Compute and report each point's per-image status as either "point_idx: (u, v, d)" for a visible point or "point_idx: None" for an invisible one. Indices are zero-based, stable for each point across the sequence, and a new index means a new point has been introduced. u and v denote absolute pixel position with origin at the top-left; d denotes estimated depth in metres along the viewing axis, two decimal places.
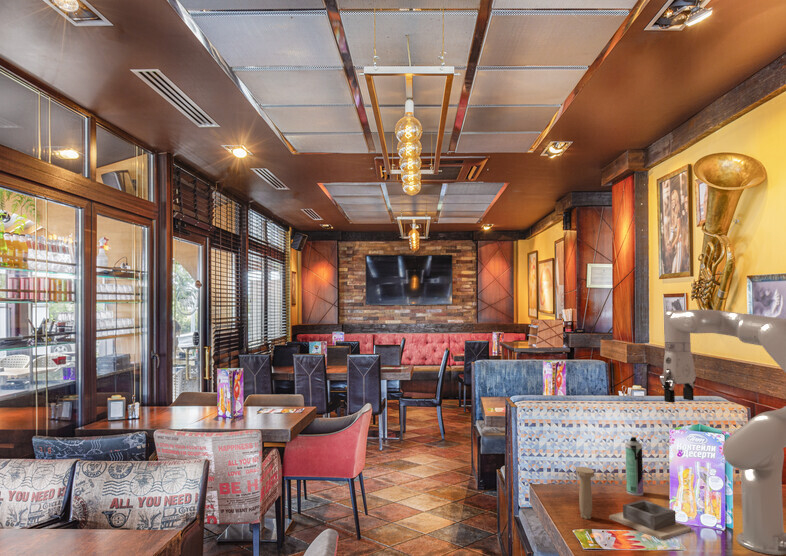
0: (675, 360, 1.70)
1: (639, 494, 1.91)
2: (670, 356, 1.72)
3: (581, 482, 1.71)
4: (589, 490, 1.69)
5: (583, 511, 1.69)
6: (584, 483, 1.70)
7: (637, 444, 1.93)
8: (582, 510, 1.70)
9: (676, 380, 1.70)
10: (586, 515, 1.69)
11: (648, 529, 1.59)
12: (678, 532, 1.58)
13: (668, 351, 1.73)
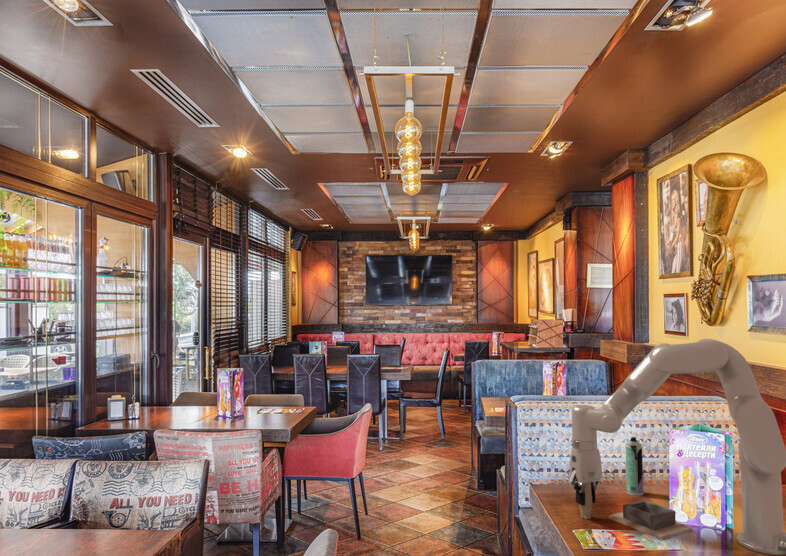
0: (580, 459, 1.68)
1: (639, 494, 1.91)
2: (575, 455, 1.69)
3: None
4: (589, 490, 1.69)
5: (583, 511, 1.69)
6: None
7: (637, 444, 1.93)
8: (582, 510, 1.70)
9: (580, 480, 1.67)
10: (586, 515, 1.69)
11: (648, 529, 1.59)
12: (678, 532, 1.58)
13: (574, 448, 1.71)
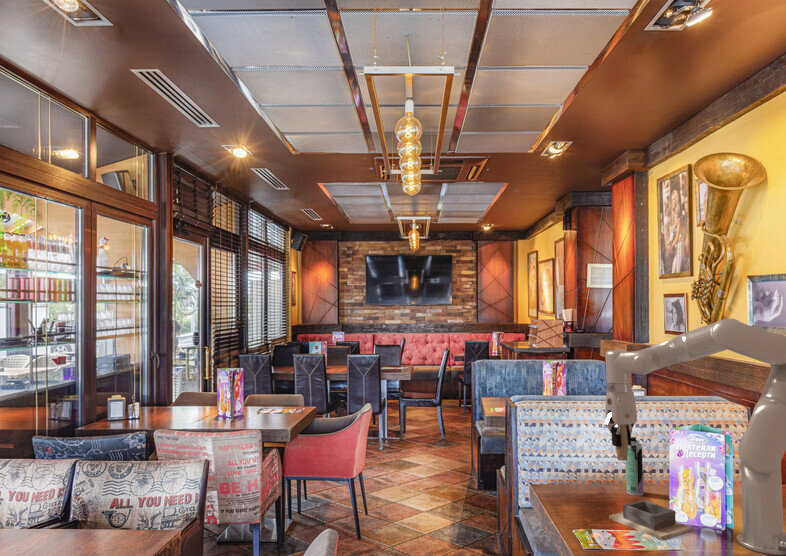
0: (615, 401, 1.70)
1: (639, 494, 1.91)
2: (611, 397, 1.72)
3: None
4: (625, 432, 1.72)
5: (619, 453, 1.72)
6: (620, 425, 1.72)
7: (637, 444, 1.93)
8: (618, 452, 1.72)
9: (616, 421, 1.70)
10: (622, 457, 1.72)
11: (648, 529, 1.59)
12: (678, 532, 1.58)
13: (609, 392, 1.73)
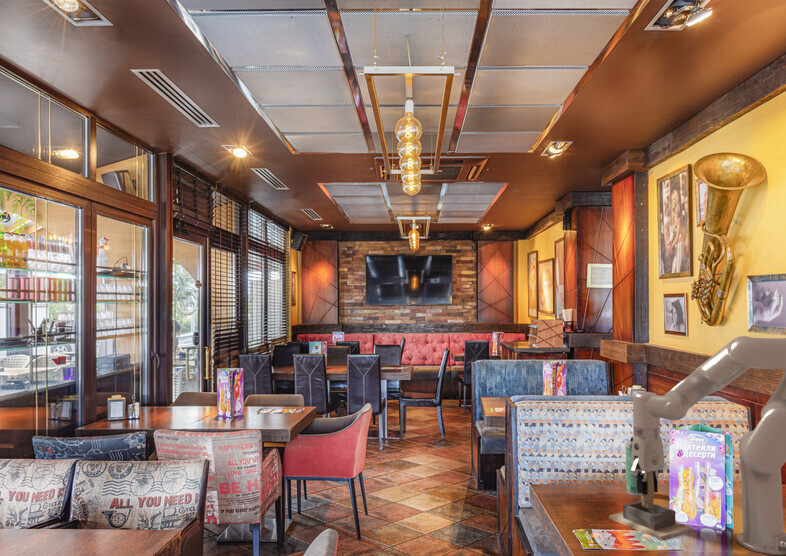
0: (643, 447, 1.63)
1: (639, 494, 1.91)
2: (638, 442, 1.64)
3: None
4: (651, 479, 1.65)
5: (645, 500, 1.65)
6: None
7: None
8: (644, 500, 1.65)
9: (644, 469, 1.62)
10: (648, 504, 1.64)
11: (648, 529, 1.59)
12: (678, 532, 1.58)
13: (636, 436, 1.66)
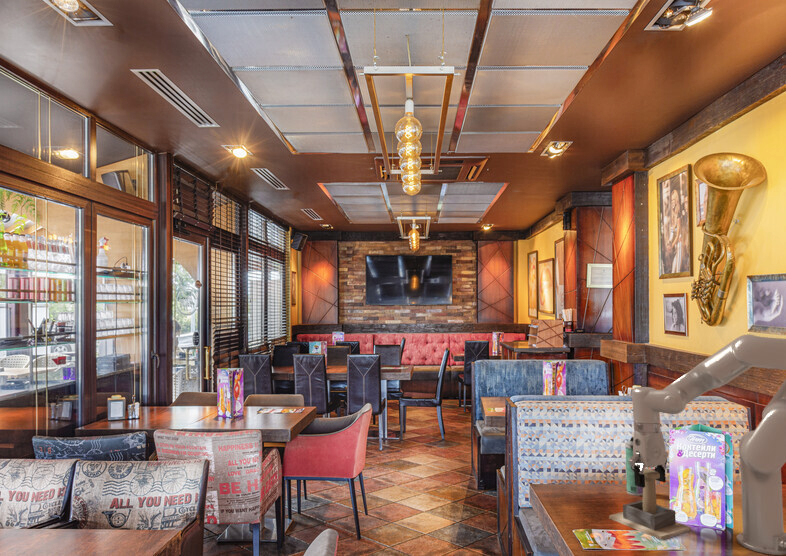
0: (644, 442, 1.63)
1: (639, 494, 1.91)
2: (639, 438, 1.64)
3: (645, 484, 1.65)
4: (654, 493, 1.64)
5: None
6: (649, 485, 1.64)
7: None
8: None
9: (646, 464, 1.62)
10: None
11: (648, 529, 1.59)
12: (678, 532, 1.58)
13: (637, 432, 1.66)
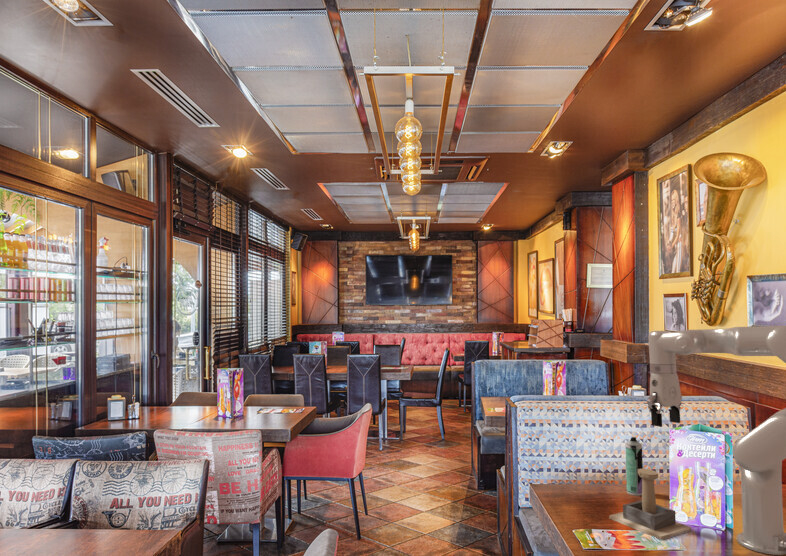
0: (661, 382, 1.66)
1: (639, 494, 1.91)
2: (656, 378, 1.68)
3: (644, 484, 1.65)
4: (653, 492, 1.64)
5: None
6: (648, 485, 1.64)
7: (637, 444, 1.93)
8: None
9: (663, 403, 1.65)
10: None
11: (648, 529, 1.59)
12: (678, 532, 1.58)
13: (654, 373, 1.69)
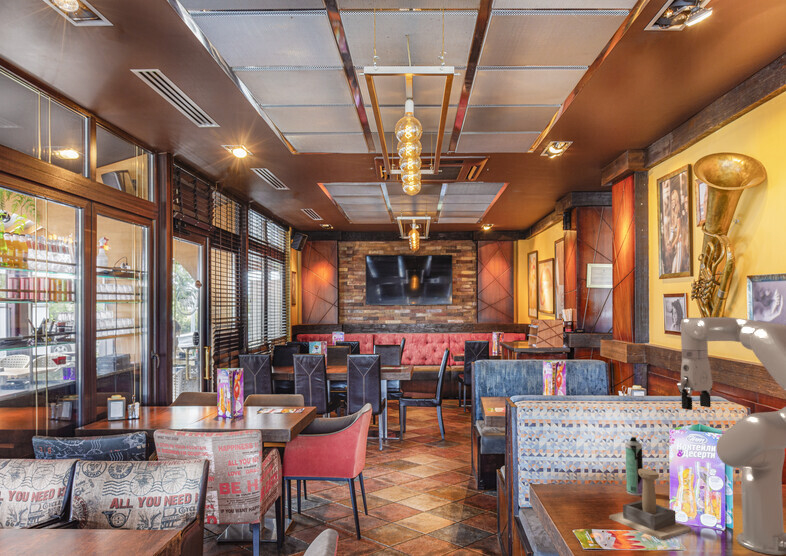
0: (693, 367, 1.71)
1: (639, 494, 1.91)
2: (687, 363, 1.73)
3: (644, 484, 1.65)
4: (653, 493, 1.64)
5: None
6: (648, 485, 1.64)
7: (637, 444, 1.93)
8: None
9: (694, 387, 1.71)
10: None
11: (648, 529, 1.59)
12: (678, 532, 1.58)
13: (685, 358, 1.75)
